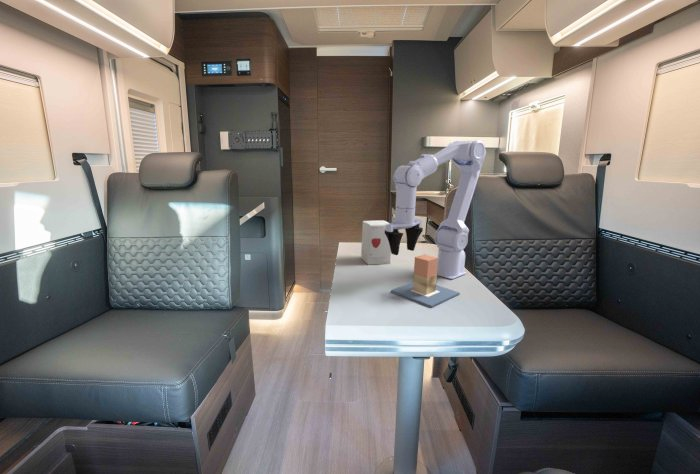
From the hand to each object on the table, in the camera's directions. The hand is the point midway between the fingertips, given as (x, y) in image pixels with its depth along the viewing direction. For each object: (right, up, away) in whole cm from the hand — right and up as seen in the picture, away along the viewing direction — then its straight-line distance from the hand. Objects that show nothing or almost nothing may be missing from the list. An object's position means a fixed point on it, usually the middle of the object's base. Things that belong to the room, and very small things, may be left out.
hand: (402, 252), depth 102 cm
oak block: (+6, -11, -4) cm, 13 cm away
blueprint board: (+6, -12, -4) cm, 14 cm away
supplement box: (-6, -5, +26) cm, 27 cm away
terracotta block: (+6, -6, -5) cm, 10 cm away
